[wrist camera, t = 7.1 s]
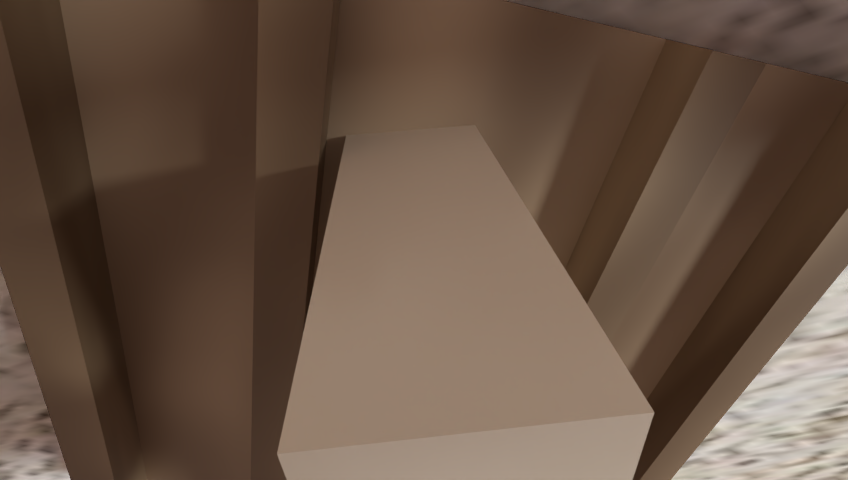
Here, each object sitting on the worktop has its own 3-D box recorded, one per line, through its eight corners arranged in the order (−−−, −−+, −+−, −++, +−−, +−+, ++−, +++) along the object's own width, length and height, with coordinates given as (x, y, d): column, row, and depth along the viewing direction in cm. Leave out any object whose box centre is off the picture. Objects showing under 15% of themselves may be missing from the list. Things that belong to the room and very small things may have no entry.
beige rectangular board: (474, 124, 10) (654, 412, 4) (473, 441, 17) (538, 768, 10) (346, 134, 10) (276, 453, 3) (394, 450, 16) (403, 787, 10)
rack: (871, 88, 12) (993, 117, 10) (602, 477, 21) (631, 543, 18) (-27, -127, 8) (-191, -167, 6) (112, 455, 17) (68, 532, 15)
